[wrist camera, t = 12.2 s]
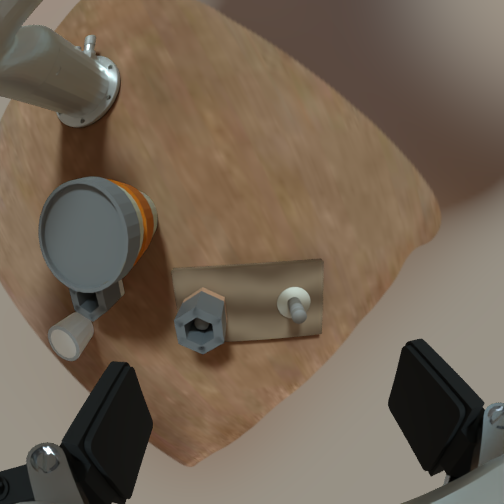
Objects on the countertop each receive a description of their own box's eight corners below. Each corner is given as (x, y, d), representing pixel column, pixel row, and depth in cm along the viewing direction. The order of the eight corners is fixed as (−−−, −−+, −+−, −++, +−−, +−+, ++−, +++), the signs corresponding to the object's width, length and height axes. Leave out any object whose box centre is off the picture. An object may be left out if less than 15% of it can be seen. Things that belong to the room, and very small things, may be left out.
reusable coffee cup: (113, 270, 42) (64, 307, 27) (85, 197, 39) (24, 207, 24) (182, 243, 41) (150, 274, 27) (152, 163, 38) (105, 155, 24)
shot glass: (60, 315, 44) (41, 332, 37) (83, 303, 43) (63, 320, 36) (80, 346, 45) (63, 365, 38) (103, 336, 45) (86, 356, 38)
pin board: (173, 268, 42) (162, 282, 36) (320, 258, 42) (333, 271, 36) (184, 338, 45) (177, 360, 38) (319, 329, 45) (329, 350, 39)
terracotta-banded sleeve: (182, 288, 41) (171, 308, 34) (223, 285, 41) (219, 305, 34) (189, 330, 42) (180, 354, 36) (228, 328, 42) (225, 353, 36)
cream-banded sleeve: (88, 264, 41) (66, 277, 35) (119, 262, 42) (99, 275, 35) (96, 303, 43) (77, 321, 36) (126, 303, 43) (110, 322, 36)
